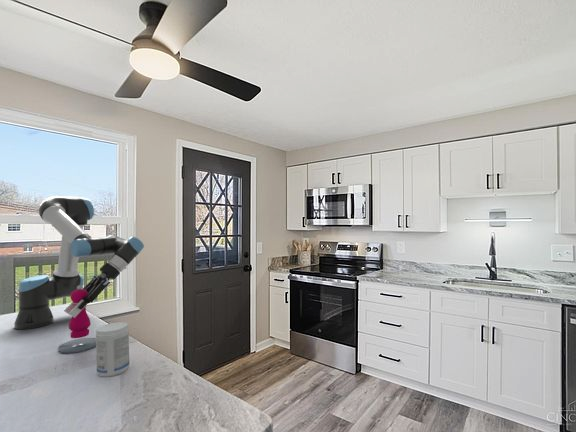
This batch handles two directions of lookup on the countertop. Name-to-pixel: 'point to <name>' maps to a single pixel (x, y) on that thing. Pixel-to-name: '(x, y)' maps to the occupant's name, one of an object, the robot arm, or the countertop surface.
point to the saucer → (77, 345)
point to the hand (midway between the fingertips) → (69, 314)
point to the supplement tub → (112, 349)
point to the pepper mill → (79, 315)
